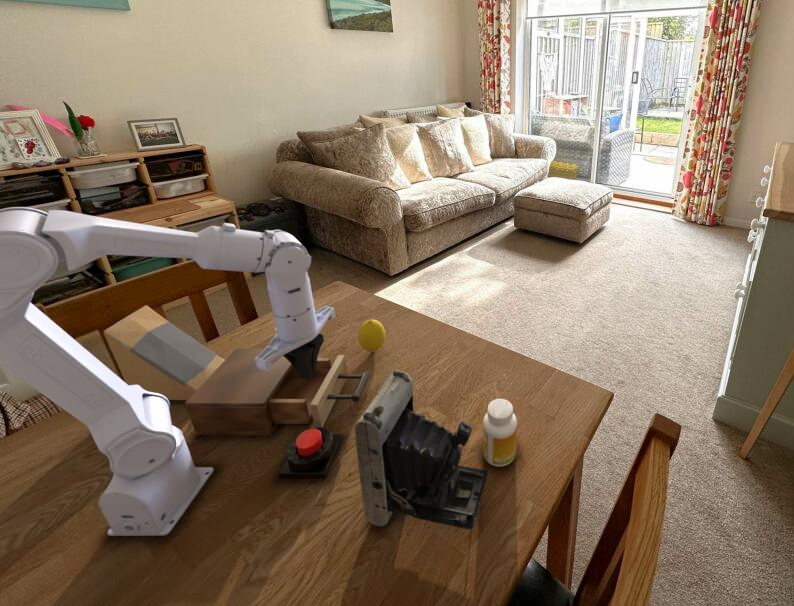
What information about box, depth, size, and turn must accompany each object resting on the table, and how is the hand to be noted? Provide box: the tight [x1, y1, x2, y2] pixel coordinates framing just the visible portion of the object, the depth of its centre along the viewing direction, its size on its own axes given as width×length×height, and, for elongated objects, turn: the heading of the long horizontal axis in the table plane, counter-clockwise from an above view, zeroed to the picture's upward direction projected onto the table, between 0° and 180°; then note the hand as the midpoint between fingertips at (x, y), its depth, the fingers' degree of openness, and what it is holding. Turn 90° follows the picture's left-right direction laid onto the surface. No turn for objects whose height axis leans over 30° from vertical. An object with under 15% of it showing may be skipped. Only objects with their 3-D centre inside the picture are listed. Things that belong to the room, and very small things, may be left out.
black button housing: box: [277, 426, 344, 480], centre depth 64 cm, size 7×7×3 cm
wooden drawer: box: [267, 354, 371, 428], centre depth 73 cm, size 17×12×5 cm
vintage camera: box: [354, 369, 489, 531], centre depth 55 cm, size 10×16×20 cm, turn 79°
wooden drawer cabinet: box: [184, 347, 292, 436], centre depth 73 cm, size 13×14×7 cm
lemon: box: [357, 319, 386, 352], centre depth 87 cm, size 6×6×8 cm
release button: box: [296, 428, 323, 456], centre depth 63 cm, size 4×4×2 cm
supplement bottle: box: [482, 398, 518, 468], centre depth 65 cm, size 5×5×10 cm
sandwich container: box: [103, 305, 226, 401], centre depth 76 cm, size 9×15×15 cm, turn 88°
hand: (307, 375), depth 68 cm, fingers closed
